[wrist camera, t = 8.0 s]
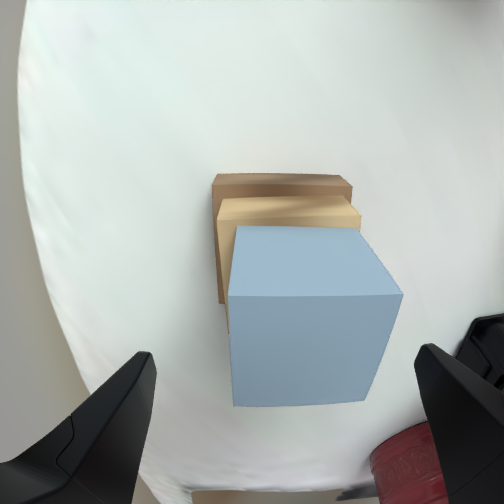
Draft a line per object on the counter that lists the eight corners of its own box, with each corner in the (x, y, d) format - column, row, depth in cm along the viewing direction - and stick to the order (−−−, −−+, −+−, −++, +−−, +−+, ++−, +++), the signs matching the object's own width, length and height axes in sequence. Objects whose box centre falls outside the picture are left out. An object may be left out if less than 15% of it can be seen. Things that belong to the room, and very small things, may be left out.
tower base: (337, 173, 18) (352, 186, 15) (326, 276, 21) (337, 301, 18) (218, 172, 18) (211, 184, 15) (223, 277, 21) (219, 303, 18)
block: (356, 228, 13) (403, 293, 8) (339, 321, 15) (364, 400, 10) (237, 225, 13) (228, 295, 8) (238, 322, 15) (233, 406, 10)
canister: (426, 454, 36) (452, 540, 20) (355, 469, 35) (373, 568, 20) (467, 409, 30) (509, 509, 14) (389, 426, 30) (424, 553, 14)
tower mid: (342, 195, 15) (361, 215, 12) (334, 294, 18) (346, 327, 15) (222, 198, 15) (216, 220, 13) (231, 299, 18) (228, 333, 15)
